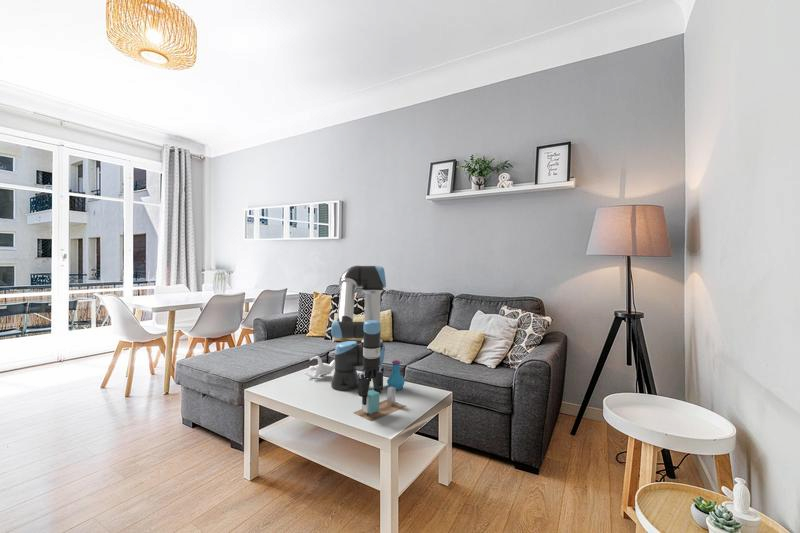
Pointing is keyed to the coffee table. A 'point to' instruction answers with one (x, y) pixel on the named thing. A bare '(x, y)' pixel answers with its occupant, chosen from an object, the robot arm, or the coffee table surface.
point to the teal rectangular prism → (373, 401)
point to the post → (391, 396)
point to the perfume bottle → (396, 377)
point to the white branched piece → (321, 367)
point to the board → (380, 411)
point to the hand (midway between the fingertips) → (370, 409)
